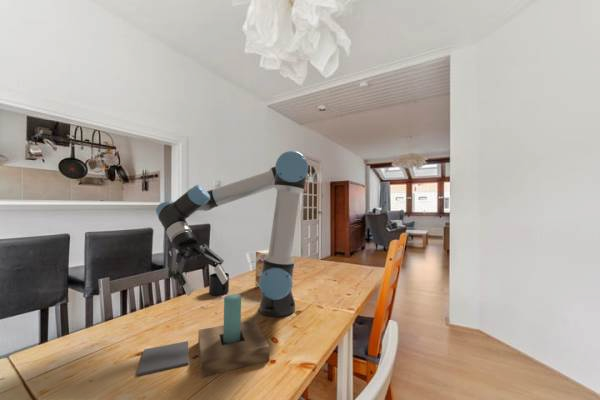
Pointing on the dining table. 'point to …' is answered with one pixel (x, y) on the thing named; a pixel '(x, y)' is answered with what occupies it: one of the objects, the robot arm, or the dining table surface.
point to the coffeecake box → (259, 264)
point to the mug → (218, 285)
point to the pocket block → (231, 349)
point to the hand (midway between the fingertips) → (209, 287)
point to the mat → (163, 358)
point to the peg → (232, 319)
